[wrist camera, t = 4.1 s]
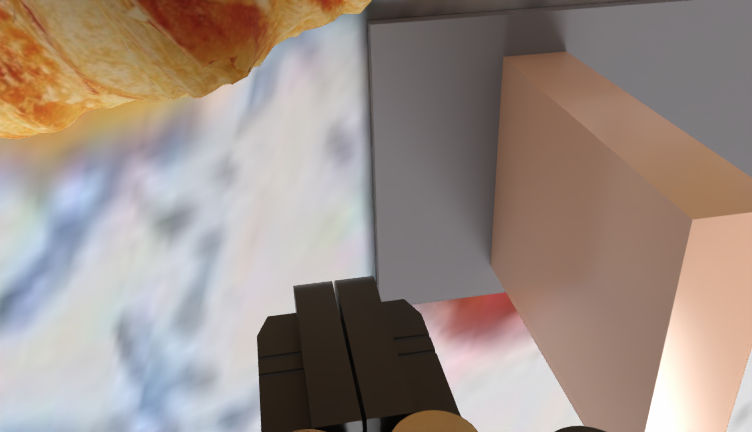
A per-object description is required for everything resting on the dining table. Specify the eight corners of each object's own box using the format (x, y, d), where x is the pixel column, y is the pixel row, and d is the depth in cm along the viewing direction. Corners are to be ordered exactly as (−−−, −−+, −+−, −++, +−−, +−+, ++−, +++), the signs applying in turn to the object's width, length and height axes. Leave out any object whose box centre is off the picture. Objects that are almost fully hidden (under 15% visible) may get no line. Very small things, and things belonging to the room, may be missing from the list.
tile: (503, 56, 17) (692, 219, 10) (566, 51, 17) (795, 206, 10) (490, 265, 20) (628, 502, 13) (544, 258, 20) (709, 488, 13)
